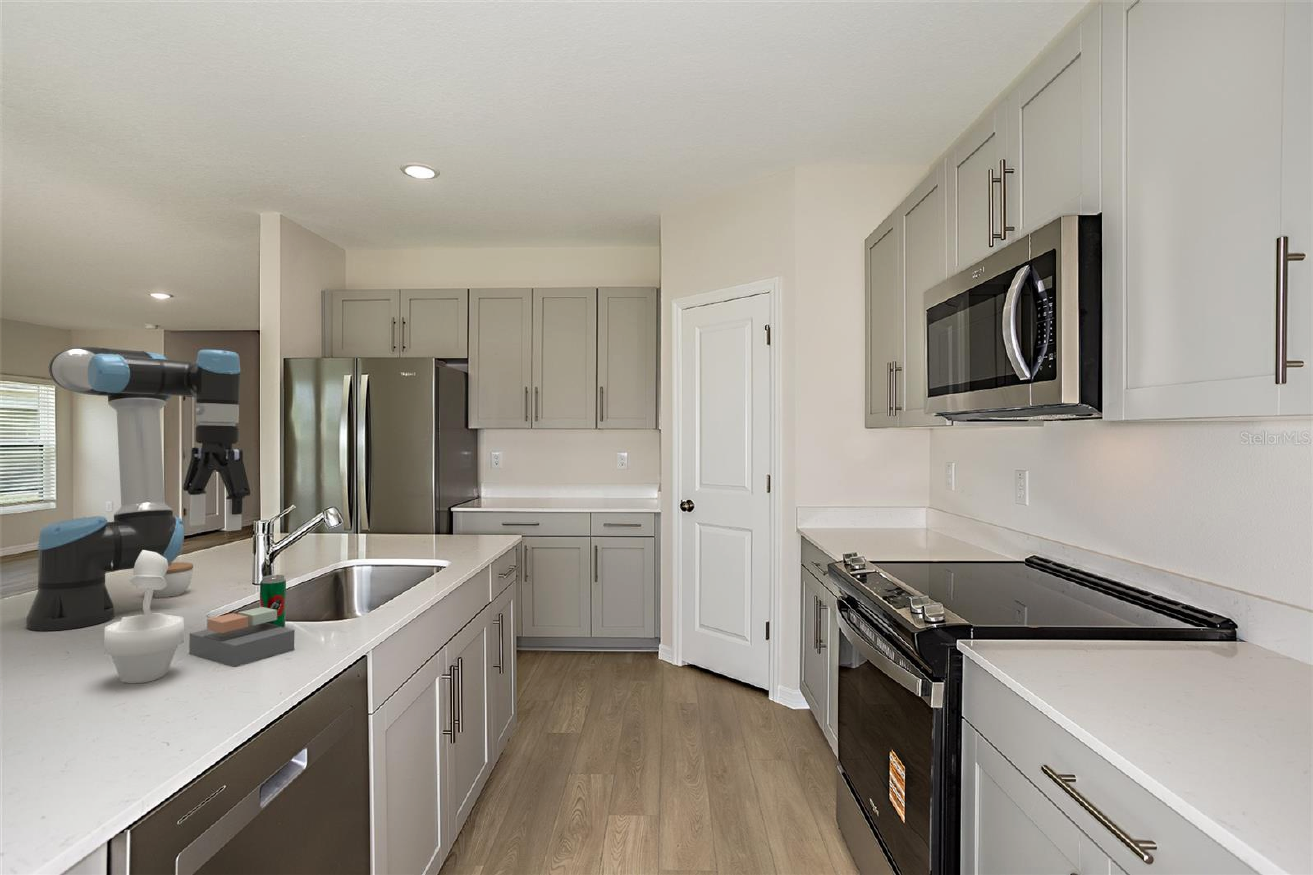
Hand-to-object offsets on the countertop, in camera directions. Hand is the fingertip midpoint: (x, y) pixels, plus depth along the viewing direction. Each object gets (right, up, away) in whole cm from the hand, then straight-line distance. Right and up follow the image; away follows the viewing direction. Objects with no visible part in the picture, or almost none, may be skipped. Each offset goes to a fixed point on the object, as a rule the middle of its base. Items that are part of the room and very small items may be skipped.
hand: (215, 527), depth 141 cm
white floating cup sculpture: (+1, -24, -21) cm, 32 cm away
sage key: (+11, -19, -3) cm, 22 cm away
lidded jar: (-39, -23, +40) cm, 60 cm away
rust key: (+8, -19, -8) cm, 22 cm away
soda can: (+7, -24, +9) cm, 27 cm away
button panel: (+9, -24, -5) cm, 26 cm away
